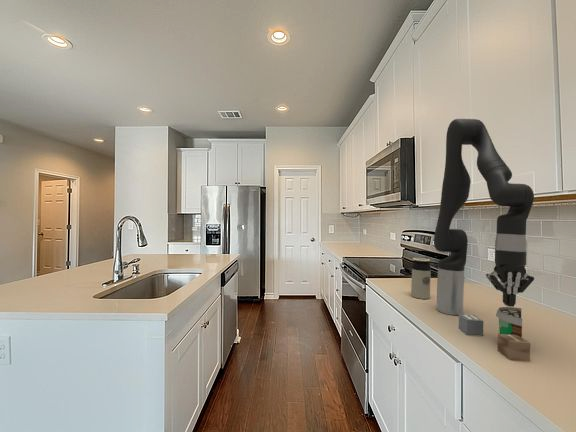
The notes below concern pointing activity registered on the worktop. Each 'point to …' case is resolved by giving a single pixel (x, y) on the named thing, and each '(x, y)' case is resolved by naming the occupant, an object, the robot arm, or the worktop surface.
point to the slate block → (471, 325)
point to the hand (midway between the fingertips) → (508, 305)
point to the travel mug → (421, 278)
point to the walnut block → (513, 347)
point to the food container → (510, 321)
